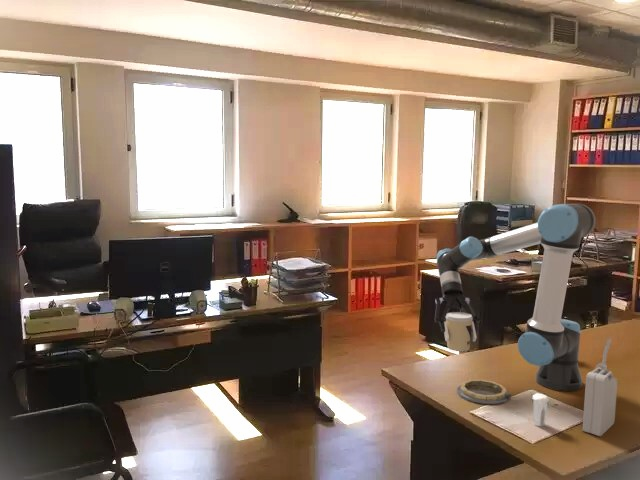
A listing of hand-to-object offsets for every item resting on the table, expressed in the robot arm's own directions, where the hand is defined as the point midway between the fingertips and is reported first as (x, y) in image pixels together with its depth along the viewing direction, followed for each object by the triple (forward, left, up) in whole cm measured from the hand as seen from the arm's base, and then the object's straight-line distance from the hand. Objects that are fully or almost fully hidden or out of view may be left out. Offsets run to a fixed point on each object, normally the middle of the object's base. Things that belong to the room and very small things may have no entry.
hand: (461, 339), depth 192 cm
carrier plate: (-9, +6, -16) cm, 19 cm away
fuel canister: (-44, +15, -16) cm, 49 cm away
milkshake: (-27, +22, -16) cm, 38 cm away
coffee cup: (+1, -3, -4) cm, 5 cm away
